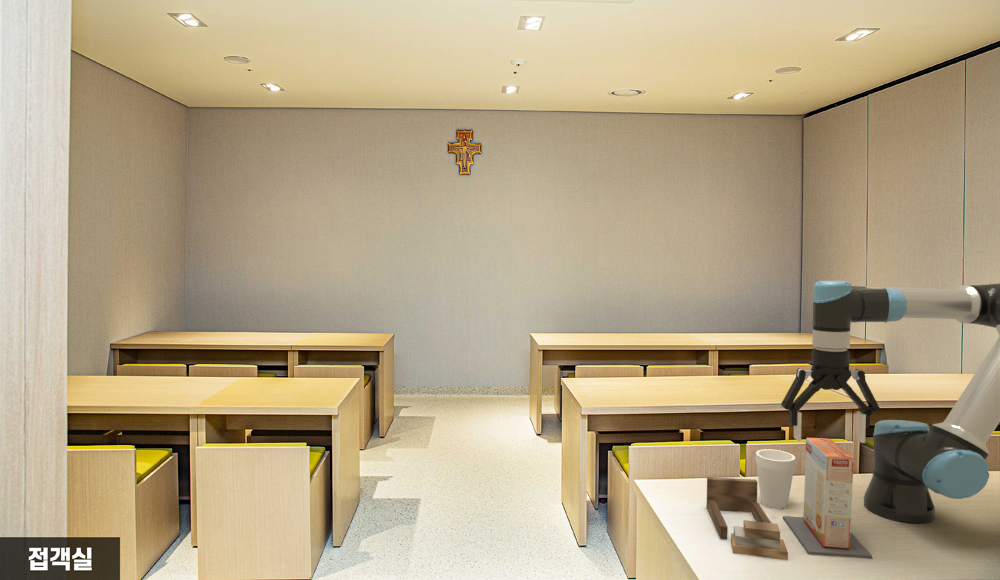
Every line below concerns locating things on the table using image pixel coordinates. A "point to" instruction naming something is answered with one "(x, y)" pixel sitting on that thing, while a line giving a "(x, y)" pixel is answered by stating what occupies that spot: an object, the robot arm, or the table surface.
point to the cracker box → (828, 492)
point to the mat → (815, 546)
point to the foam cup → (775, 476)
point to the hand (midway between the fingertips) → (828, 440)
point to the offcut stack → (759, 540)
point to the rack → (732, 500)
